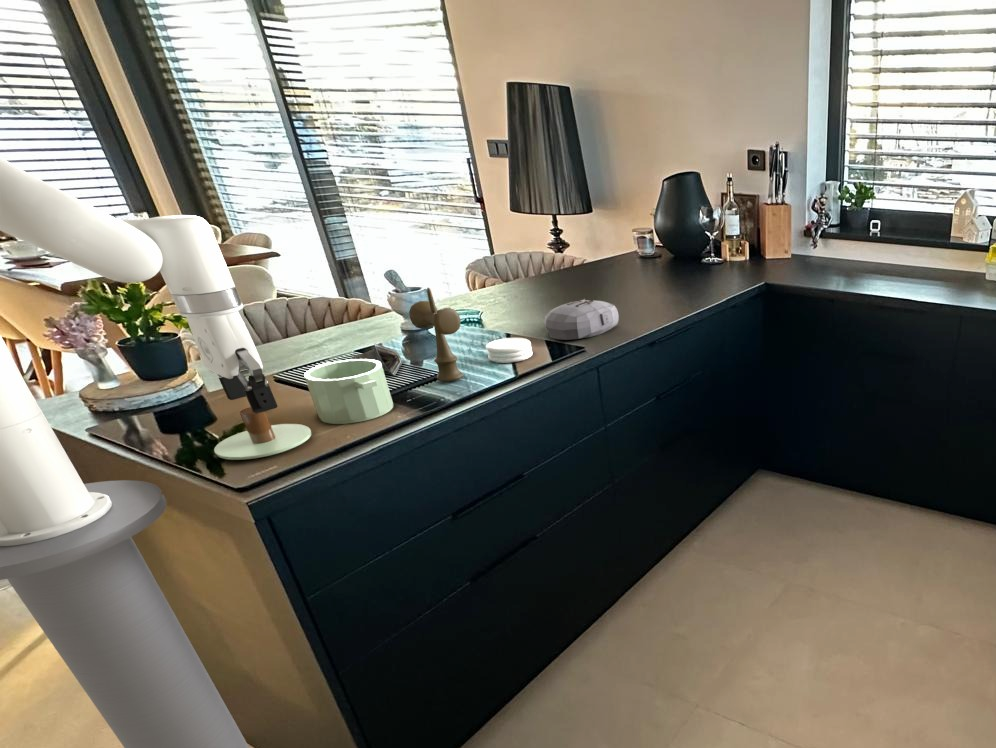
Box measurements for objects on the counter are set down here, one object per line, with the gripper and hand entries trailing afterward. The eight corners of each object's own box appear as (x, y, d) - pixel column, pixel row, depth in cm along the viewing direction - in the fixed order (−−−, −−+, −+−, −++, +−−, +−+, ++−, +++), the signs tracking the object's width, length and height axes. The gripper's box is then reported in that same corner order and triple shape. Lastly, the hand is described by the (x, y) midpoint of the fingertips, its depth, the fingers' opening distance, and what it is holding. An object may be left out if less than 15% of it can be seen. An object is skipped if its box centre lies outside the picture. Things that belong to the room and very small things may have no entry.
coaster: (486, 353, 152) (483, 340, 151) (529, 348, 157) (527, 335, 155) (490, 366, 145) (487, 351, 143) (536, 360, 149) (533, 346, 147)
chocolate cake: (369, 364, 145) (336, 340, 133) (400, 353, 146) (369, 329, 135) (380, 399, 143) (347, 378, 131) (411, 387, 144) (381, 366, 132)
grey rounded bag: (586, 320, 181) (533, 337, 165) (582, 291, 177) (527, 306, 161) (627, 327, 175) (576, 346, 159) (624, 297, 172) (571, 313, 156)
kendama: (451, 371, 141) (429, 282, 132) (476, 380, 136) (455, 288, 127) (424, 379, 136) (400, 286, 127) (450, 388, 132) (427, 293, 123)
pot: (346, 433, 112) (331, 388, 108) (300, 410, 120) (285, 368, 116) (413, 411, 121) (401, 369, 117) (367, 392, 129) (354, 352, 125)
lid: (235, 470, 99) (219, 433, 96) (203, 449, 105) (186, 413, 102) (326, 441, 108) (314, 406, 106) (292, 423, 115) (279, 390, 112)
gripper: (156, 298, 97) (204, 399, 105) (200, 315, 89) (248, 424, 97) (216, 289, 102) (257, 385, 110) (262, 304, 94) (303, 407, 102)
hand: (253, 403), depth 104 cm, fingers open, 9 cm apart
